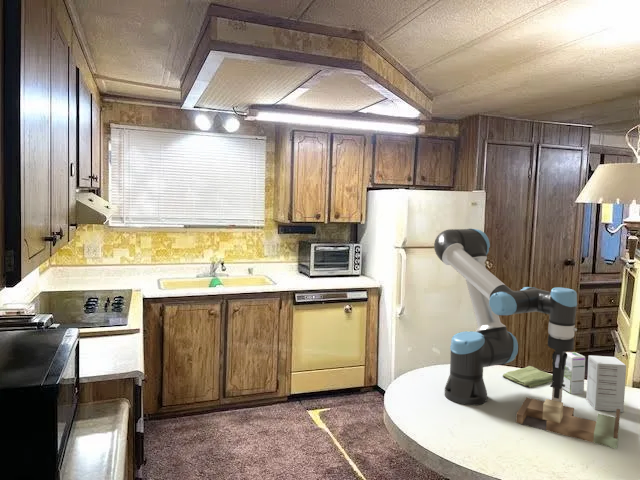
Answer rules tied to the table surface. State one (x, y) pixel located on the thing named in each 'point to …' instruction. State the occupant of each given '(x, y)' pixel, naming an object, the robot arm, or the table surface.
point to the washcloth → (529, 376)
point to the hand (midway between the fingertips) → (556, 406)
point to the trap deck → (571, 423)
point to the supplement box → (606, 383)
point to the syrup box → (574, 373)
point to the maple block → (553, 410)
